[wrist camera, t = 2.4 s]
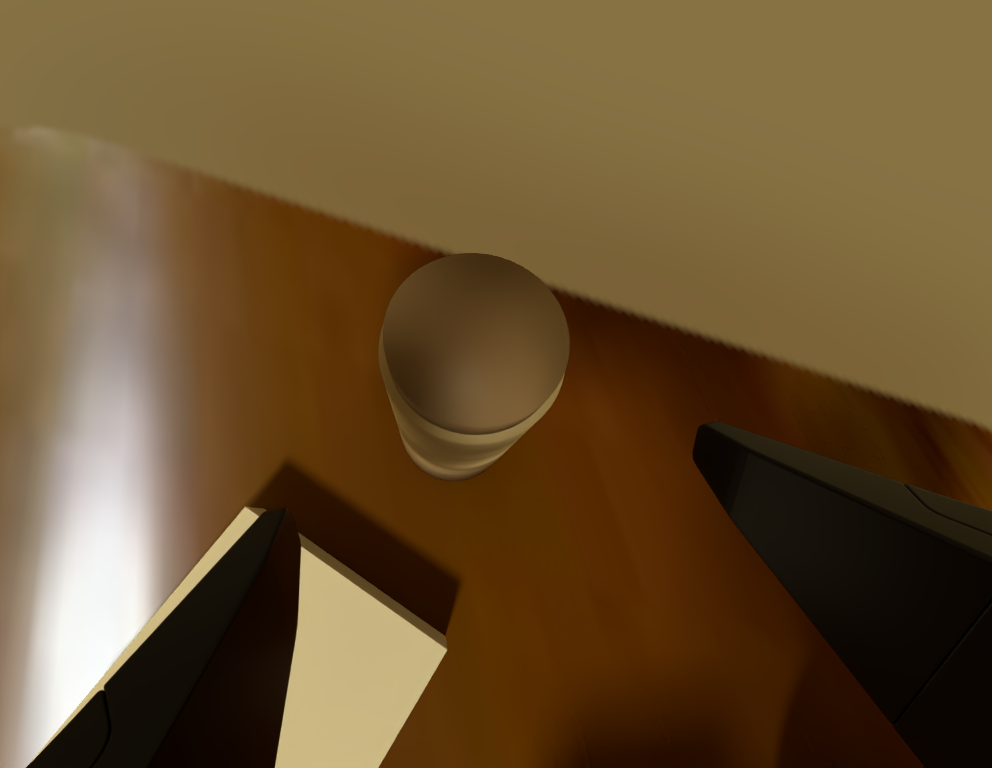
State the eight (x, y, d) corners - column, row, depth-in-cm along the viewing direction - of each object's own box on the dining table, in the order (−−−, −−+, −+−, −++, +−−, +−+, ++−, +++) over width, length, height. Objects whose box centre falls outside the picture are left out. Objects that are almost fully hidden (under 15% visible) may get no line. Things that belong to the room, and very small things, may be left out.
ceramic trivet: (445, 636, 17) (447, 649, 16) (289, 899, 14) (268, 955, 13) (264, 508, 18) (245, 506, 16) (76, 737, 15) (26, 768, 13)
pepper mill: (515, 393, 21) (591, 276, 11) (493, 492, 19) (559, 459, 10) (418, 367, 21) (408, 224, 11) (387, 466, 19) (343, 404, 9)
